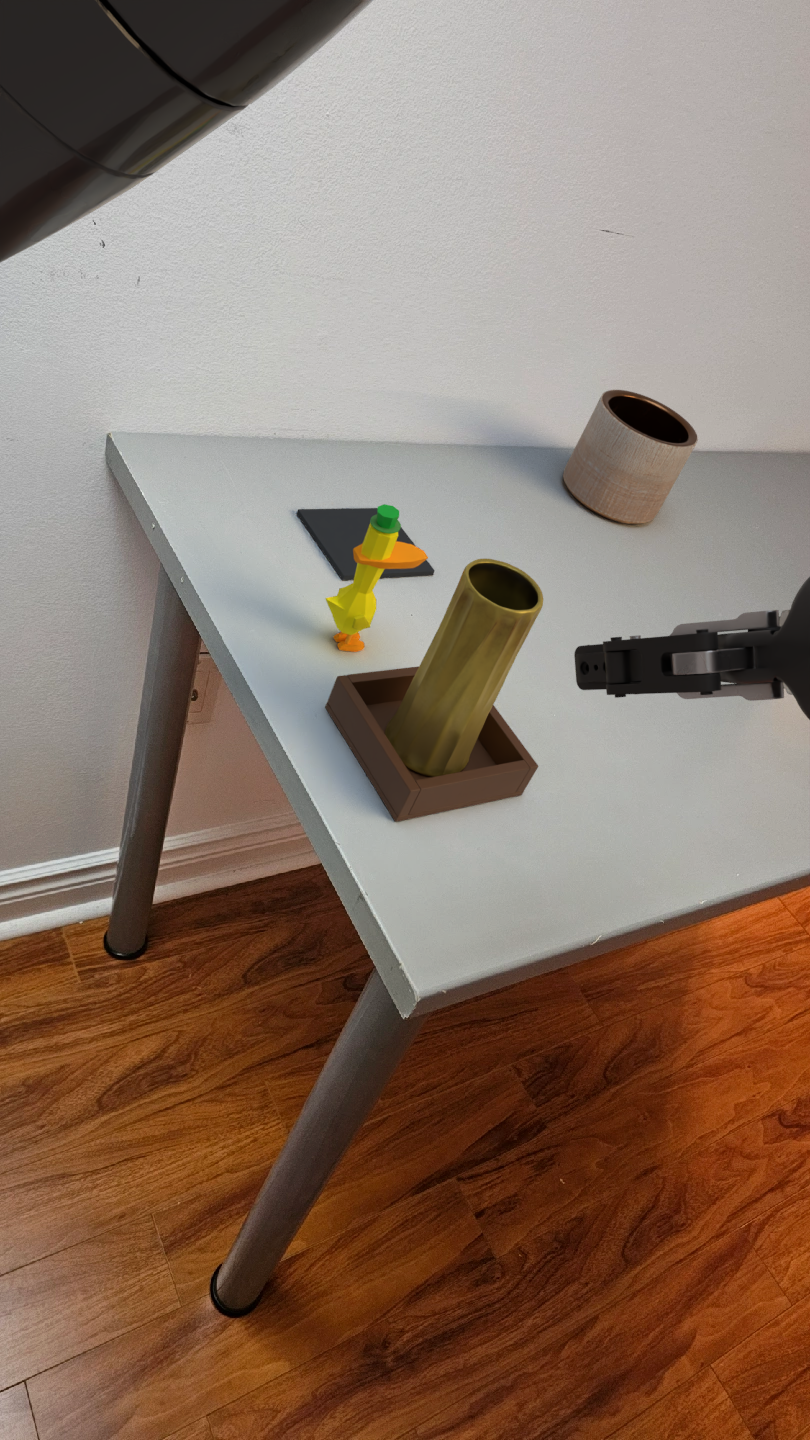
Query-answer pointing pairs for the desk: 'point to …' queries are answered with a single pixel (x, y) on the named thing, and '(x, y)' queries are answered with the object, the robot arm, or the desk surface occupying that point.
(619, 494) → the planter
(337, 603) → the toy figure
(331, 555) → the mat
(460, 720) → the vase
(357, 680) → the tray
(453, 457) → the desk surface
